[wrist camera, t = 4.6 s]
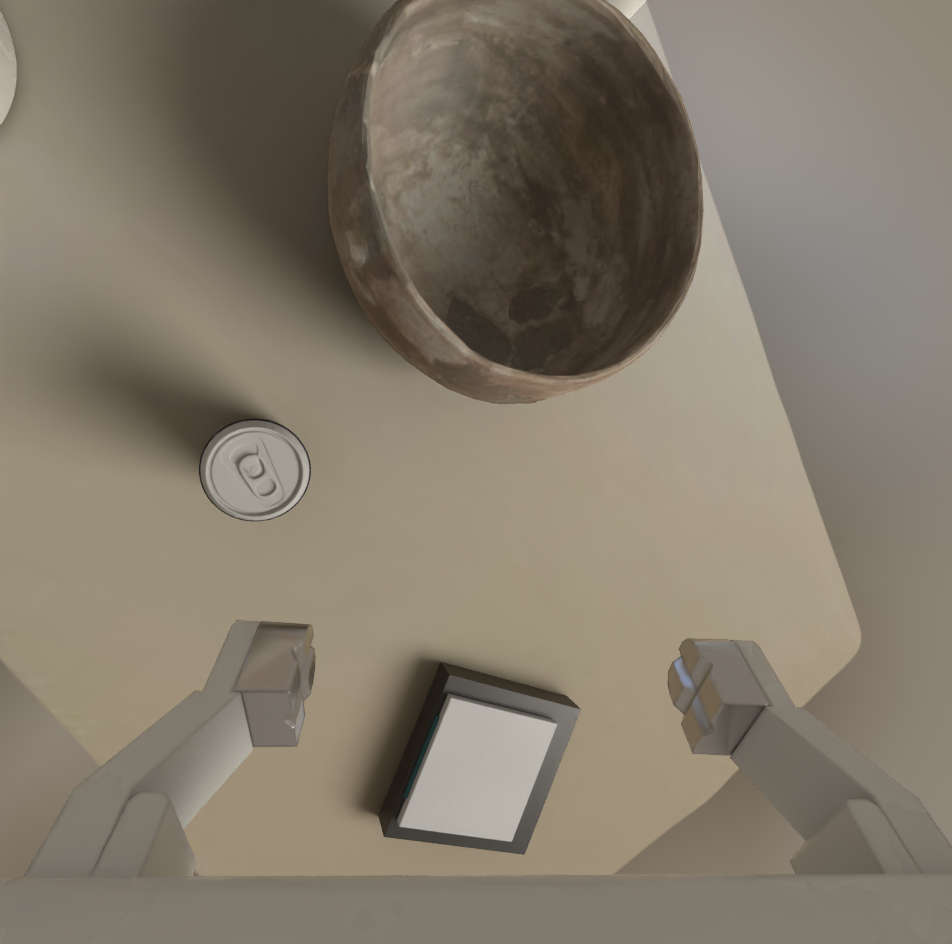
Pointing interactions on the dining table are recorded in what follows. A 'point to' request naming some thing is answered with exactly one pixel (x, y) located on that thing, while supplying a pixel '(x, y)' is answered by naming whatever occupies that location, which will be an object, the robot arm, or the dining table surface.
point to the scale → (478, 763)
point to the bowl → (514, 193)
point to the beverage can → (254, 470)
